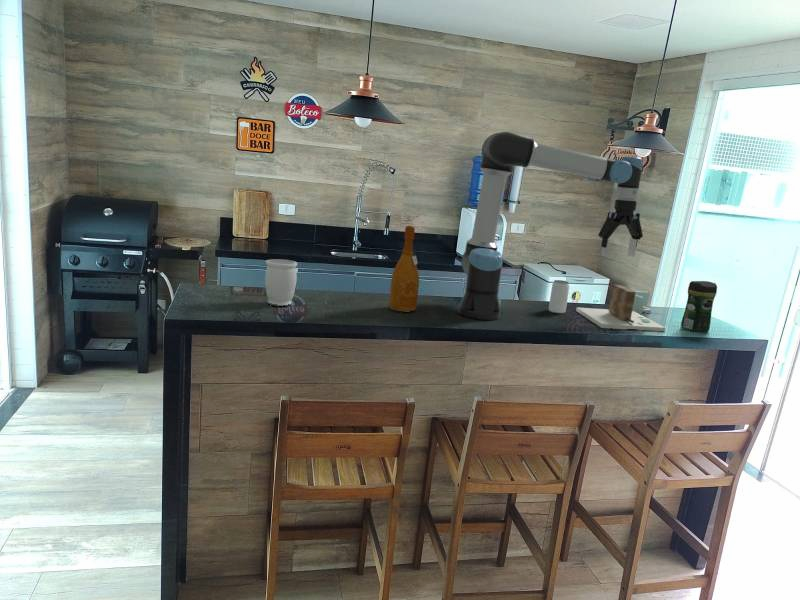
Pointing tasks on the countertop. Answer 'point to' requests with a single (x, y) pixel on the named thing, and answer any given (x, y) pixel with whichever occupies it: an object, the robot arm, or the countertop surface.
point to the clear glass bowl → (641, 302)
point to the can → (559, 296)
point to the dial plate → (618, 320)
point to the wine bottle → (405, 277)
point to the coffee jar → (699, 306)
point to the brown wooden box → (622, 302)
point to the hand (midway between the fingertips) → (617, 256)
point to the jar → (280, 281)
